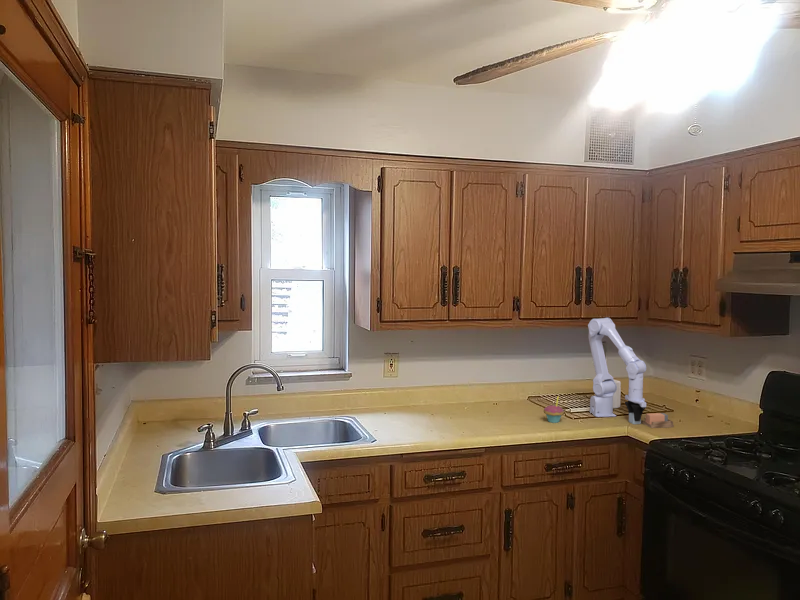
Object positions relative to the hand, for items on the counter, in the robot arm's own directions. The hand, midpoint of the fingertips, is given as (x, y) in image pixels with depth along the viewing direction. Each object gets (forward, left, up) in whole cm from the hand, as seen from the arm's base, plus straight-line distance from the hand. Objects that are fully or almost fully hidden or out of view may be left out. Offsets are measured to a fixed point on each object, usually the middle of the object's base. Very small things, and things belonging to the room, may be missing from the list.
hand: (634, 419), depth 255 cm
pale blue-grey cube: (0, 0, -1) cm, 1 cm away
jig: (+8, -4, -2) cm, 9 cm away
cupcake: (-34, +6, -2) cm, 35 cm away
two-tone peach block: (+8, -4, 0) cm, 9 cm away
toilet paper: (+3, +30, -2) cm, 31 cm away
